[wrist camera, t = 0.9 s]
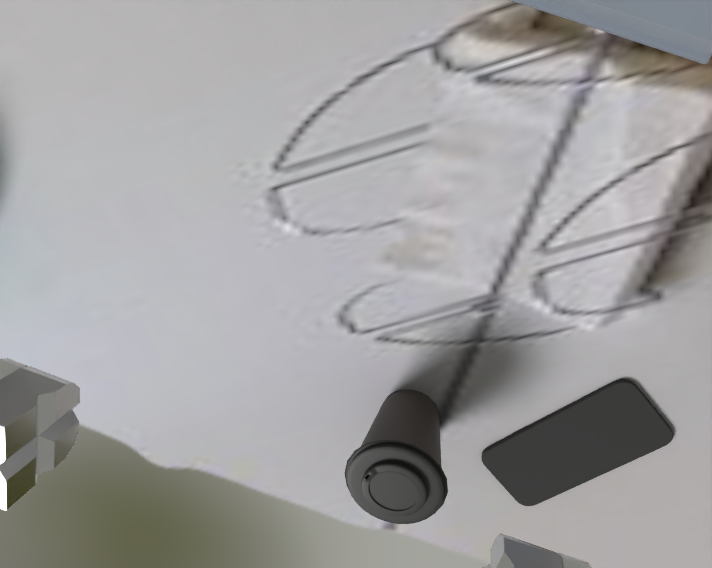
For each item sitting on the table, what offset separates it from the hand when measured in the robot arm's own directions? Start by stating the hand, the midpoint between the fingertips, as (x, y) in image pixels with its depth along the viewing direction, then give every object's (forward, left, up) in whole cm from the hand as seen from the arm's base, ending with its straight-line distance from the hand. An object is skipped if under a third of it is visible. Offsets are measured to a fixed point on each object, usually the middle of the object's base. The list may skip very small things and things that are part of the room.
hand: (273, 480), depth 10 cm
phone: (+28, +4, -35) cm, 45 cm away
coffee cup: (+22, -9, -35) cm, 42 cm away
